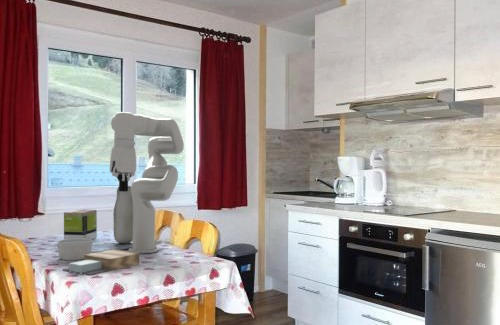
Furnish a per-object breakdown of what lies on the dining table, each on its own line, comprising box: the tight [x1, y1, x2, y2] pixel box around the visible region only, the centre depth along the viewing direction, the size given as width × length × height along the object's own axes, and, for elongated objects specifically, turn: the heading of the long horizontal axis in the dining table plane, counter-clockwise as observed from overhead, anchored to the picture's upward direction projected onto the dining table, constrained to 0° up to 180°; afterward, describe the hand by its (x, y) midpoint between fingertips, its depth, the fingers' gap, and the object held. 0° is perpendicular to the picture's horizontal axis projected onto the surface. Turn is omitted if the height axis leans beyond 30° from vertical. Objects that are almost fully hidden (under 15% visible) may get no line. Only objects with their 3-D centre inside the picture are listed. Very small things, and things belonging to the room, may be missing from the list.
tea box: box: [63, 209, 98, 240], centre depth 226 cm, size 15×10×15 cm
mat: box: [62, 267, 112, 276], centre depth 159 cm, size 9×14×1 cm, turn 59°
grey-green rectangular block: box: [68, 259, 102, 274], centre depth 159 cm, size 9×6×2 cm, turn 149°
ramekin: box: [56, 239, 94, 261], centre depth 181 cm, size 13×13×7 cm
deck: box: [83, 248, 140, 271], centre depth 169 cm, size 14×14×4 cm
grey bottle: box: [112, 184, 133, 245], centre depth 218 cm, size 10×10×28 cm
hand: (123, 191), depth 177 cm, fingers closed
